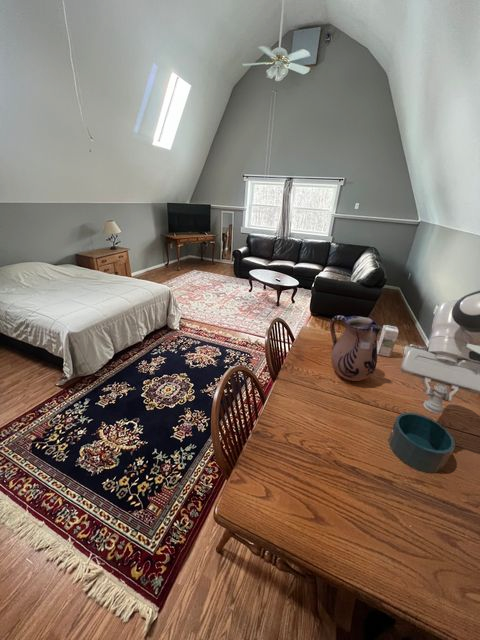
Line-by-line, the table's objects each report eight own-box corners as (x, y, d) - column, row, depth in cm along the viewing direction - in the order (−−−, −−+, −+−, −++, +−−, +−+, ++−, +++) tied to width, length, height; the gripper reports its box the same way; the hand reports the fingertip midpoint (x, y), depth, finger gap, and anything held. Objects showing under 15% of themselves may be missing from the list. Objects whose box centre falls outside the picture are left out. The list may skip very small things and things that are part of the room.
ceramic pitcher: (368, 393, 104) (385, 337, 94) (315, 374, 114) (325, 321, 104) (373, 371, 118) (389, 320, 108) (326, 356, 128) (336, 308, 117)
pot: (435, 439, 85) (444, 420, 82) (451, 480, 73) (463, 460, 69) (385, 426, 90) (392, 407, 86) (392, 462, 77) (400, 442, 74)
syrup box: (388, 351, 134) (396, 326, 128) (390, 358, 129) (399, 331, 123) (375, 349, 136) (383, 324, 130) (377, 355, 131) (385, 329, 125)
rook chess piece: (420, 407, 77) (430, 385, 73) (425, 401, 79) (435, 379, 76) (438, 417, 74) (449, 394, 70) (443, 409, 76) (454, 387, 73)
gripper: (407, 339, 79) (398, 383, 76) (495, 359, 71) (489, 410, 67) (402, 345, 85) (393, 387, 81) (483, 365, 76) (477, 413, 73)
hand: (437, 398), depth 74 cm, fingers closed on rook chess piece, 3 cm apart
